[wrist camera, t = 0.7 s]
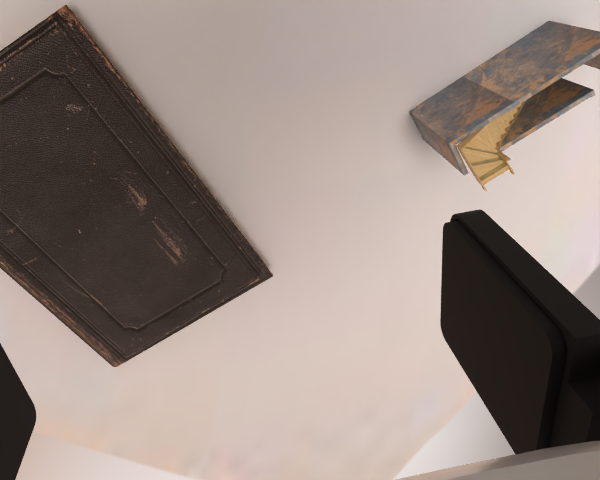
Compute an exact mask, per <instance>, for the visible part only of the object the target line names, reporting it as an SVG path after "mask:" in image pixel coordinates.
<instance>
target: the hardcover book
mask: <svg viewBox="0 0 600 480" xmlns="http://www.w3.org/2000/svg"><path fill="white" fill-rule="evenodd" d="M0 268H1V269H2V270H3V271H4V272H6V273H7V274H8V275H9V276H10V277H11V278H12V279H14V280H15V281H16V282H17V283H18V284H19V285H20V286H22V287H23V288H24V289H25V290H26V291H27V292H28V293H30V294H31V295H32V296H33V297H34V298H35V299H36V300H38V301H39V302H40V303H41V304H42V305H43V306H44V307H46V308H47V309H48V310H49V311H50V312H51V313H52V314H54V315H55V316H56V317H57V318H58V319H59V320H60V321H62V322H63V323H64V324H65V325H66V326H67V327H68V328H69V329H71V330H72V331H73V332H74V333H75V334H76V335H77V336H79V337H80V338H81V339H82V340H83V341H84V342H85V343H87V344H88V345H89V346H90V347H91V348H92V349H93V350H95V351H96V352H97V353H98V354H99V355H100V356H101V357H103V358H104V359H105V360H106V361H107V362H108V363H109V364H111V365H112V366H113V367H117V366H119V365H121V364H123V363H124V362H126V361H128V360H129V359H131V358H133V357H135V356H136V355H138V354H140V353H141V352H143V351H145V350H147V349H148V348H150V347H152V346H154V345H155V344H157V343H159V342H160V341H162V340H164V339H166V338H167V337H169V336H171V335H172V334H174V333H176V332H178V331H179V330H181V329H183V328H185V327H186V326H188V325H190V324H191V323H193V322H195V321H197V320H198V319H200V318H202V317H204V316H205V315H207V314H209V313H210V312H212V311H214V310H216V309H217V308H219V307H221V306H222V305H224V304H226V303H228V302H229V301H231V300H233V299H235V298H236V297H238V296H240V295H241V294H243V293H245V292H247V291H248V290H250V289H252V288H253V287H255V286H257V285H259V284H260V283H262V282H264V281H266V280H267V279H269V278H271V277H272V276H273V274H272V273H271V272H270V271H269V269H268V268H267V267H266V265H265V264H264V263H263V261H262V260H261V259H260V257H259V256H258V255H257V254H256V252H255V251H254V250H253V248H252V247H251V246H250V244H249V243H248V242H247V240H246V239H245V238H244V237H243V235H242V234H241V233H240V231H239V230H238V229H237V227H236V226H235V225H234V223H233V222H232V221H231V220H230V218H229V217H228V216H227V214H226V213H225V212H224V210H223V209H222V208H221V206H220V205H219V204H218V203H217V201H216V200H215V199H214V197H213V196H212V195H211V193H210V192H209V191H208V189H207V188H206V187H205V186H204V184H203V183H202V182H201V180H200V179H199V178H198V176H197V175H196V174H195V173H194V171H193V170H192V169H191V167H190V166H189V165H188V163H187V162H186V161H185V159H184V158H183V157H182V156H181V154H180V153H179V152H178V150H177V149H176V148H175V146H174V145H173V144H172V142H171V141H170V140H169V139H168V137H167V136H166V135H165V133H164V132H163V131H162V129H161V128H160V127H159V125H158V124H157V123H156V122H155V120H154V119H153V118H152V116H151V115H150V114H149V112H148V111H147V110H146V108H145V107H144V106H143V105H142V103H141V102H140V101H139V99H138V98H137V97H136V95H135V94H134V93H133V91H132V90H131V89H130V88H129V86H128V85H127V84H126V82H125V81H124V80H123V78H122V77H121V76H120V74H119V73H118V72H117V71H116V69H115V68H114V67H113V65H112V64H111V63H110V61H109V60H108V59H107V58H106V56H105V55H104V54H103V52H102V51H101V50H100V48H99V47H98V46H97V44H96V43H95V42H94V41H93V39H92V38H91V37H90V35H89V34H88V33H87V31H86V30H85V29H84V27H83V26H82V25H81V24H80V22H79V21H78V20H77V18H76V17H75V16H74V14H73V13H72V12H71V10H70V9H69V8H68V7H67V5H65V6H64V7H62V8H61V9H59V10H58V11H56V12H55V13H54V14H52V15H51V16H49V17H48V18H47V19H45V20H44V21H42V22H41V23H39V24H38V25H37V26H35V27H34V28H32V29H31V30H30V31H28V32H27V33H25V34H24V35H22V36H21V37H20V38H18V39H17V40H15V41H14V42H13V43H11V44H10V45H8V46H7V47H5V48H4V49H3V50H1V51H0Z"/></svg>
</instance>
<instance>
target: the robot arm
mask: <svg viewBox="0 0 600 480" xmlns="http://www.w3.org/2000/svg"><path fill="white" fill-rule="evenodd" d="M441 330H442V333H443V336H444V338H445V340H446V342H447V344H448V345H449V347H450V349H451V350H452V352H453V353H454V355H455V357H456V358H457V360H458V362H459V363H460V365H461V366H462V368H463V370H464V371H465V373H466V375H467V376H468V378H469V379H470V381H471V383H472V384H473V386H474V387H475V389H476V391H477V392H478V394H479V396H480V397H481V399H482V400H483V402H484V404H485V405H486V407H487V408H488V410H489V412H490V413H491V415H492V417H493V418H494V420H495V422H496V423H497V425H498V426H499V428H500V430H501V431H502V433H503V435H504V436H505V438H506V439H507V441H508V443H509V444H510V446H511V447H512V449H513V451H514V452H515V454H516V455H511V456H506V457H501V458H496V459H491V460H486V461H481V462H476V463H471V464H466V465H461V466H456V467H452V468H447V469H442V470H438V471H433V472H429V473H424V474H420V475H415V476H411V477H406V478H402V479H397V480H600V320H599V319H598V318H597V317H596V316H595V315H594V314H593V313H592V312H591V311H590V310H588V309H587V308H586V307H585V306H584V305H583V304H582V303H581V302H580V301H579V300H578V299H577V298H576V297H575V296H574V295H573V294H571V293H570V292H569V291H568V290H567V289H566V288H565V287H564V286H563V285H562V284H561V283H560V282H559V281H558V280H557V279H555V278H554V277H553V276H552V275H551V274H550V273H549V272H548V271H547V270H546V269H545V268H544V267H543V266H542V265H541V264H539V263H538V262H537V261H536V260H535V259H534V258H533V257H532V256H531V255H530V254H529V253H528V252H527V251H526V250H525V249H523V248H522V247H521V246H520V245H519V244H518V243H517V242H516V241H515V240H514V239H513V238H512V237H511V236H510V235H509V234H507V233H506V232H505V231H504V230H503V229H502V228H501V227H500V226H499V225H498V224H497V223H496V222H495V221H494V220H493V219H491V218H490V217H489V216H488V215H487V214H486V213H485V212H484V211H482V210H475V211H469V212H464V213H458V214H454V215H453V216H452V218H451V221H450V222H447V223H445V224H444V227H443V249H442V287H441ZM35 422H36V410H35V407H34V404H33V402H32V400H31V399H30V397H29V395H28V393H27V391H26V389H25V388H24V386H23V384H22V382H21V380H20V378H19V377H18V375H17V373H16V371H15V369H14V368H13V366H12V364H11V362H10V360H9V358H8V357H7V355H6V353H5V351H4V349H3V347H2V346H1V344H0V480H15V479H16V476H17V473H18V470H19V467H20V465H21V462H22V459H23V456H24V454H25V451H26V448H27V445H28V442H29V440H30V437H31V434H32V431H33V428H34V426H35Z"/></svg>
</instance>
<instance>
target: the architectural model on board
mask: <svg viewBox="0 0 600 480" xmlns="http://www.w3.org/2000/svg"><path fill="white" fill-rule="evenodd" d="M583 64H585V65H588V66H591V67H594V68H598V69H600V32H599V31H594V30H590V29H585V28H580V27H575V26H571V25H566V24H561V23H556V22H552V21H548V22H546V23H545V24H543V25H542V26H540V27H539V28H537V29H535V30H534V31H532V32H531V33H529V34H528V35H526V36H525V37H523V38H522V39H520V40H519V41H517V42H515V43H514V44H512V45H511V46H509V47H508V48H506V49H505V50H503V51H502V52H500V53H498V54H497V55H495V56H494V57H492V58H491V59H489V60H488V61H486V62H485V63H483V64H481V65H480V66H478V67H477V68H475V69H474V70H472V71H471V72H469V73H468V74H466V75H465V76H463V77H461V78H460V79H458V80H457V81H455V82H454V83H452V84H451V85H449V86H448V87H446V88H444V89H443V90H441V91H440V92H438V93H437V94H435V95H434V96H432V97H431V98H429V99H427V100H426V101H424V102H423V103H421V104H420V105H418V106H417V107H415V108H414V109H412V110H411V111H409V112H410V114H411V116H412V118H413V120H414V122H415V124H416V126H417V128H418V130H419V132H420V134H421V136H422V138H423V140H425V141H426V142H427V143H428V144H429V145H430V146H431V147H433V148H434V149H435V150H436V151H437V152H438V153H439V154H441V155H442V156H443V157H444V158H445V159H446V160H447V161H449V162H450V163H451V164H452V165H453V166H454V167H455V168H456V169H458V170H459V171H460V172H461V173H462V174H463V175H466V174H468V171H467V169H466V167H465V164H464V162H463V160H462V158H461V156H460V154H459V152H458V150H457V148H458V149H459V151H460V153H461V154H462V156H463V158H464V160H465V161H466V163H467V165H468V166H469V168H470V170H471V171H472V173H473V174H474V176H475V178H476V179H477V181H478V182H479V183H480V184H481V185H482V187H483V189H484V190H485V191H487V190H486V188H485V187H484V184H486V183H487V182H489V181H491V180H492V179H494V178H495V177H497V176H499V175H500V174H502V173H504V172H505V171H507V170H509V169H510V172H511V173H512V174H514V171H513V170H512V168H511V167H510V165H509V164H508V162H507V161H509V160H511V159H510V158H509V157H507V156H506V155H504V154H503V153H502V151H503V150H505V149H507V148H508V147H510V146H511V145H513V144H515V143H516V142H518V141H520V140H521V139H523V138H524V137H526V136H528V135H529V134H531V133H533V132H534V131H536V130H537V129H539V128H541V127H542V126H544V125H546V124H547V123H549V122H550V121H552V120H554V119H555V118H557V117H559V116H560V115H562V114H563V113H565V112H567V111H568V110H570V109H571V108H573V107H575V106H576V105H578V104H580V103H581V102H583V101H584V100H586V99H588V98H589V97H592V96H594V95H595V92H594V90H593V89H590V88H587V87H584V86H582V85H579V84H576V83H573V82H571V81H568V80H565V79H562V77H564V76H565V75H567V74H568V73H570V72H572V71H573V70H575V69H576V68H578V67H580V66H581V65H583ZM463 139H464V140H463ZM462 140H463V141H462ZM460 141H461V142H460ZM459 142H460V143H459ZM457 143H459V144H458V145H457V148H456V146H455V144H457Z"/></svg>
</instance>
